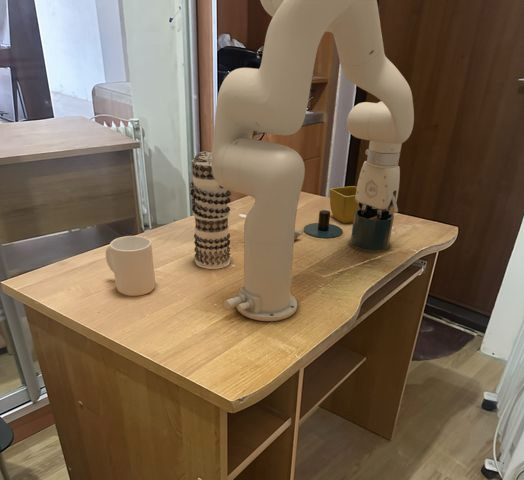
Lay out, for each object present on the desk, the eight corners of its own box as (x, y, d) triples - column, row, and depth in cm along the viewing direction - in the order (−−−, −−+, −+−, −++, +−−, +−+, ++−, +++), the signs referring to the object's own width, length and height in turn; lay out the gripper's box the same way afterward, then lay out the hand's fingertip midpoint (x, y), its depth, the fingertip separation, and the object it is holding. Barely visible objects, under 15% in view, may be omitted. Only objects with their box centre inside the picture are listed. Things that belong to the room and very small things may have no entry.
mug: (96, 285, 107) (88, 240, 101) (124, 272, 113) (118, 229, 107) (136, 300, 102) (130, 254, 96) (163, 286, 108) (159, 241, 102)
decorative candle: (222, 251, 124) (221, 147, 110) (237, 265, 118) (238, 156, 104) (188, 257, 121) (182, 150, 107) (202, 272, 114) (197, 160, 100)
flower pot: (325, 218, 148) (329, 188, 143) (350, 214, 151) (354, 185, 146) (341, 227, 142) (345, 196, 136) (366, 224, 145) (371, 193, 140)
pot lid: (322, 243, 131) (325, 221, 128) (295, 231, 138) (297, 210, 134) (350, 235, 137) (352, 213, 134) (322, 223, 144) (324, 203, 140)
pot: (371, 255, 125) (377, 223, 121) (342, 243, 132) (346, 212, 127) (395, 246, 131) (402, 215, 126) (367, 235, 137) (371, 205, 132)
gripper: (347, 153, 122) (338, 225, 132) (401, 167, 111) (387, 244, 122) (367, 150, 126) (357, 219, 136) (420, 163, 116) (405, 237, 126)
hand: (371, 230), depth 129 cm, fingers closed on hot dog, 3 cm apart
